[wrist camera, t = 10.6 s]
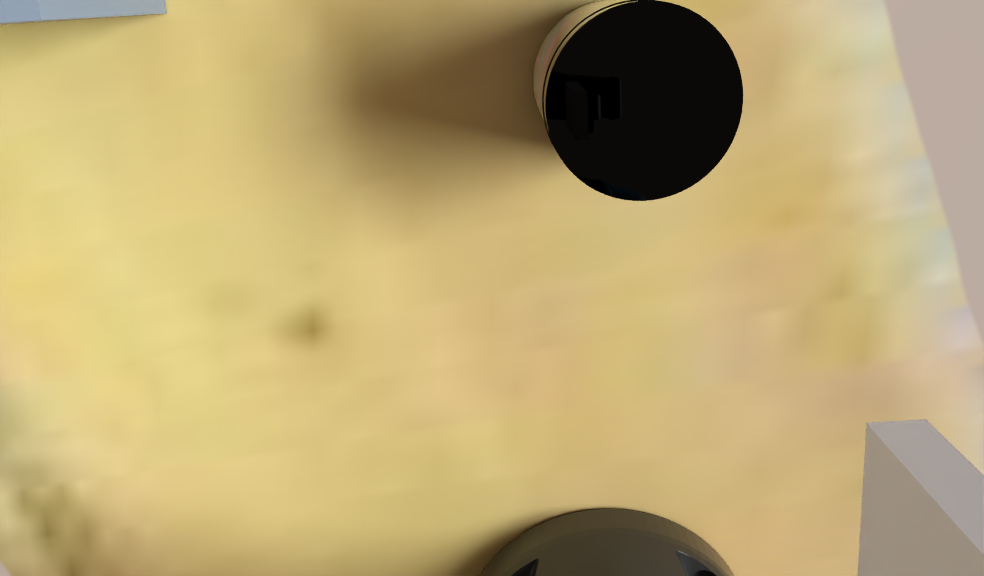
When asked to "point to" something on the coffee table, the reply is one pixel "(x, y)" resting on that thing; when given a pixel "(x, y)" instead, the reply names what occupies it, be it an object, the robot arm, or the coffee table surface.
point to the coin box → (74, 9)
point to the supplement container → (638, 96)
